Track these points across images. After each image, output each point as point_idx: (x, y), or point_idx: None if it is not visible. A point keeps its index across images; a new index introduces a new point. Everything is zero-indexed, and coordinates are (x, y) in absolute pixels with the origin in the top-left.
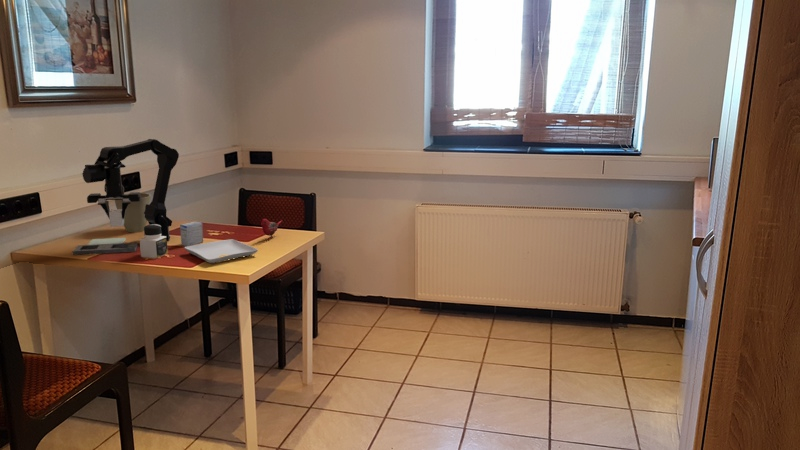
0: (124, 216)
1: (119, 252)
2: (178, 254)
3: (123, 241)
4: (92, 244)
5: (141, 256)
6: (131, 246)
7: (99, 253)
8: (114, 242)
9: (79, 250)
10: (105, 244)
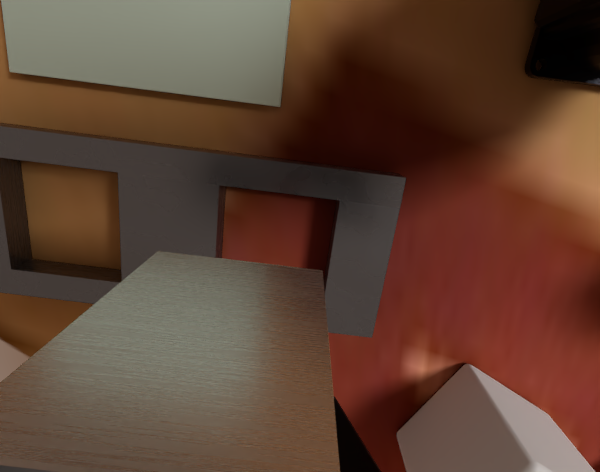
0: (346, 432)
1: None
2: (596, 442)
3: (288, 18)
4: (45, 50)
5: (398, 439)
6: (353, 286)
7: None
8: (215, 33)
9: (17, 282)
10: (159, 164)
